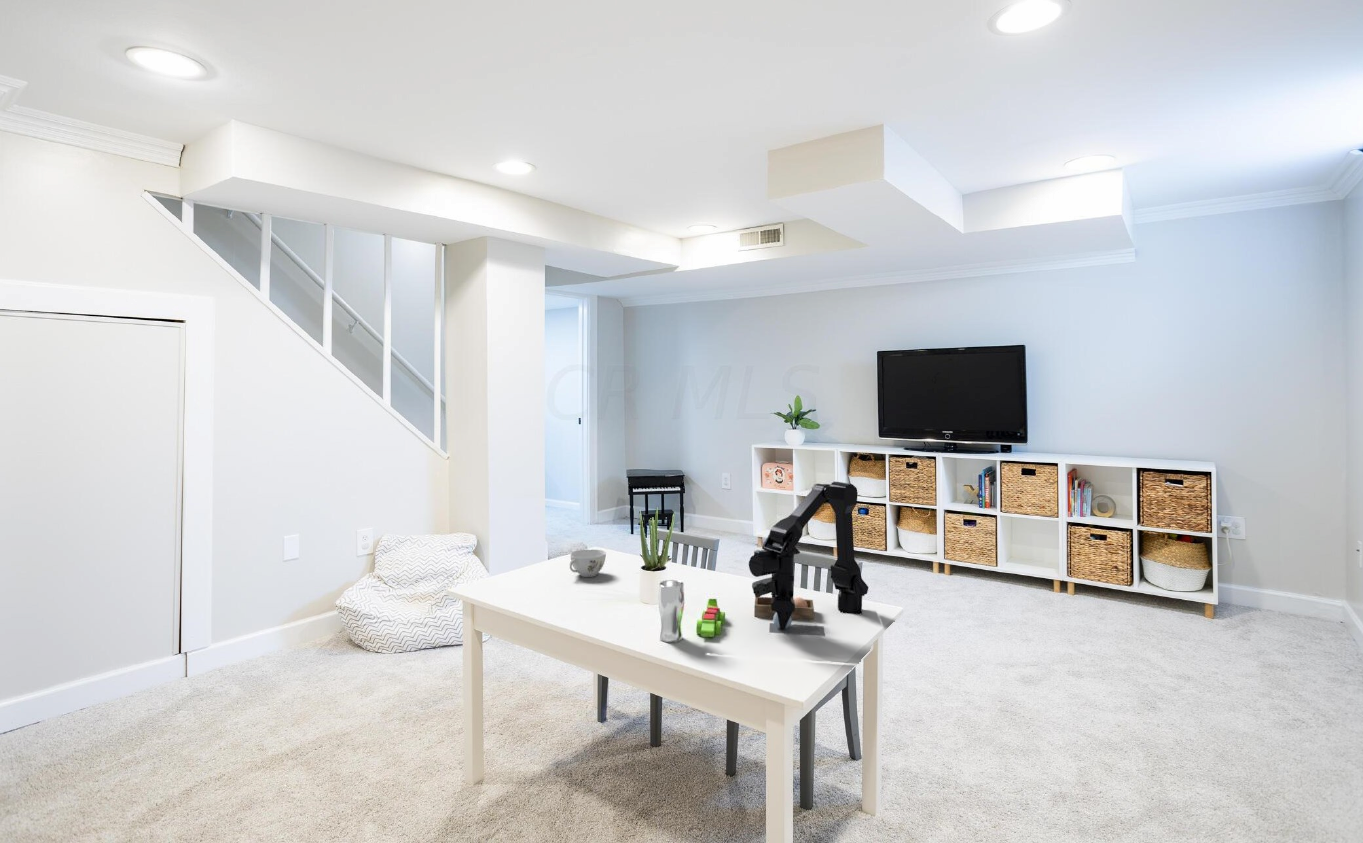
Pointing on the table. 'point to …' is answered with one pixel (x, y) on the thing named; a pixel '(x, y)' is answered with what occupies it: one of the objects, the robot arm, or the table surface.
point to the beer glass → (671, 610)
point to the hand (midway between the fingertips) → (782, 626)
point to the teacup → (587, 562)
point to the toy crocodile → (711, 620)
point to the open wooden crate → (763, 607)
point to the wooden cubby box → (804, 612)
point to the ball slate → (778, 621)
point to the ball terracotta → (800, 602)
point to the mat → (798, 629)
